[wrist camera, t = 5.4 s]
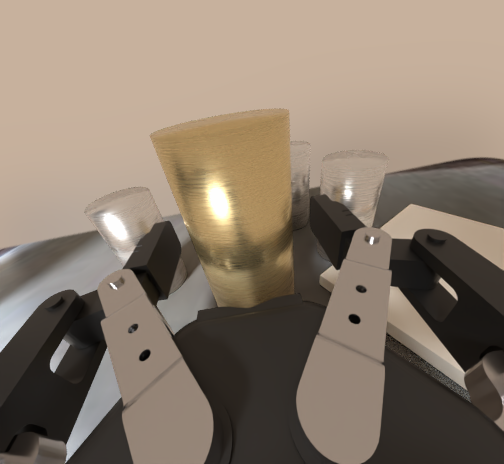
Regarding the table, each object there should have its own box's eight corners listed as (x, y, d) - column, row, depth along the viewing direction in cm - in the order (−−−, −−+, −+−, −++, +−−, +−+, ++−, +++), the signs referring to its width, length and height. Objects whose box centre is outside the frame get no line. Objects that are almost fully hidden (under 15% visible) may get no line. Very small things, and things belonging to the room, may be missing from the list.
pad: (743, 589, 5) (795, 598, 5) (319, 284, 15) (319, 275, 15) (692, 296, 11) (713, 285, 11) (408, 212, 21) (411, 203, 20)
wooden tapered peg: (252, 369, 11) (176, 145, 4) (214, 311, 15) (137, 133, 8) (310, 317, 13) (320, 106, 6) (265, 276, 17) (239, 110, 10)
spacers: (180, 413, 10) (79, 331, 6) (138, 278, 19) (84, 201, 14) (377, 246, 18) (404, 152, 13) (283, 204, 26) (279, 138, 22)
